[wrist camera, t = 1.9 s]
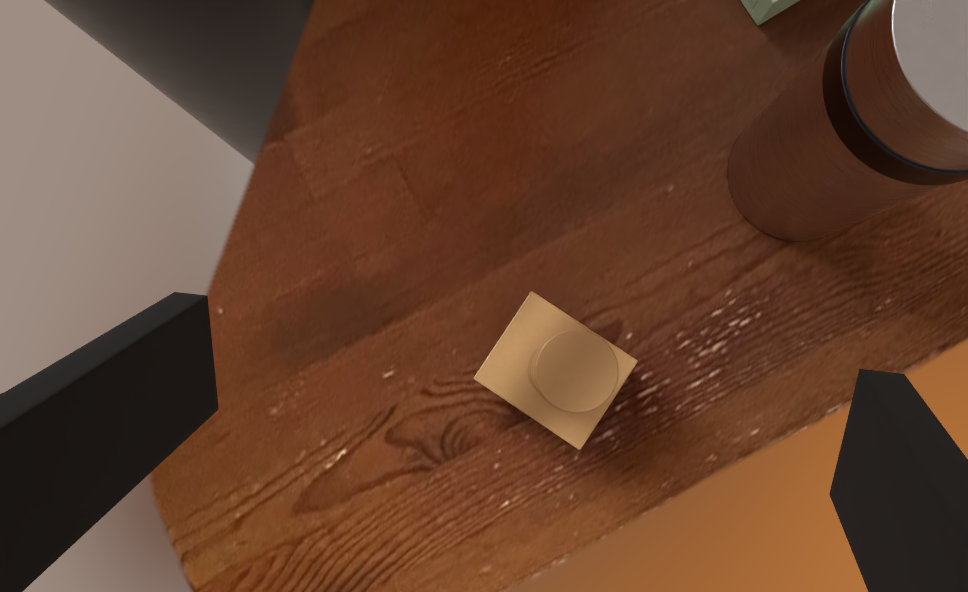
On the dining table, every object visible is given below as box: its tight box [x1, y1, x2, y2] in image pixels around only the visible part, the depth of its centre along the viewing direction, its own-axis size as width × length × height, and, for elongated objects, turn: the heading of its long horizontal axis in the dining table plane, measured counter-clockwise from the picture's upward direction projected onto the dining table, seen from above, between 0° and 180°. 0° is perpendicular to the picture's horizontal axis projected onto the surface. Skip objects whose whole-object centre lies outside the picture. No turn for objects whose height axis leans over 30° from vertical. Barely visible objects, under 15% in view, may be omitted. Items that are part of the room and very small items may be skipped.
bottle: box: [728, 0, 968, 241], centre depth 30 cm, size 7×7×17 cm
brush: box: [474, 291, 638, 450], centre depth 31 cm, size 6×5×15 cm
